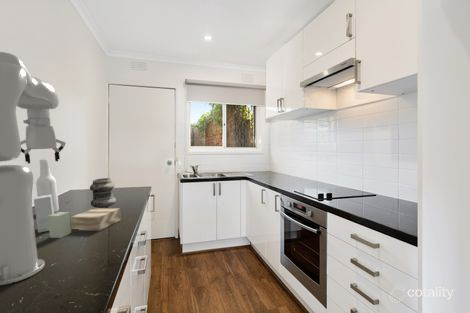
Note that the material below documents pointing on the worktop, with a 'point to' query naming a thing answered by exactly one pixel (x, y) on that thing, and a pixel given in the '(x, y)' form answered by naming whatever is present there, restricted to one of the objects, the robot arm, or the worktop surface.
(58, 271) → the worktop surface
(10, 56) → the robot arm
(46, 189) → the alcohol
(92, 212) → the birch block
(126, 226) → the worktop surface
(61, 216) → the sage block
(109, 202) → the apothecary jar
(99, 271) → the worktop surface
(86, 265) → the worktop surface
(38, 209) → the skincare box
